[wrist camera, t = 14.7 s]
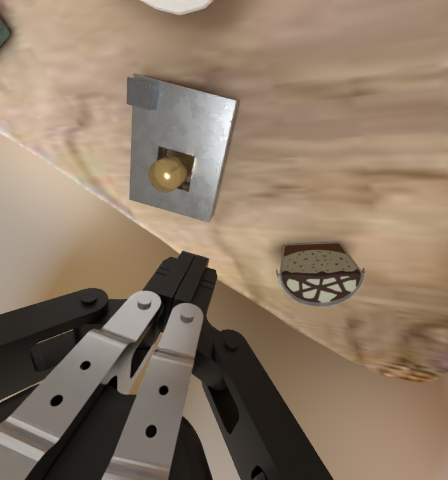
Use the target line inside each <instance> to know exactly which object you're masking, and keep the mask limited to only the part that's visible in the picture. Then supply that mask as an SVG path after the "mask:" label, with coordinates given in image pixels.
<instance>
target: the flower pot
mask: <svg viewBox="0 0 448 480" xmlns="http://www.w3.org/2000/svg"><path fill="white" fill-rule="evenodd" d="M9 35H10V32H9V30H8V28H7V27H6V26H5V24H4V23H3V21H2V20H1V19H0V46H1V45H2V44H3V43H4V41H5V40H6V39H7V38H8V37H9Z"/></svg>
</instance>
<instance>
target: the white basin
mask: <svg viewBox="0 0 448 480" xmlns="http://www.w3.org/2000/svg"><path fill="white" fill-rule="evenodd" d="M140 1H142V2H144V3H145V4H147V5H149V6H151V7H153V8H155V9H157V10H161V11H165V12H168V13H172V14H176V15H184V14H188V13H191V12H195V11H198V10H202V9H205V8H206V7H207V6H208V5H209V4H211V3H212V2H213V1H214V0H140Z"/></svg>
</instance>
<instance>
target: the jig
mask: <svg viewBox="0 0 448 480" xmlns="http://www.w3.org/2000/svg"><path fill="white" fill-rule="evenodd" d="M127 104H129V105H133V110H132V139H131V169H130V198H129V200H133V201H136V202H140V203H143V204H147V205H150V206H154V207H157V208H161V209H164V210H168V211H171V212H175V213H178V214H182V215H185V216H189V217H192V218H195V219H199V220H202V221H206V222H210V220H211V218H212V217H213V215H214V211H215V206H216V202H217V198H218V193H219V189H220V184H221V180H222V175H223V171H224V167H225V162H226V158H227V153H228V149H229V145H230V140H231V136H232V131H233V127H234V123H235V118H236V114H237V109H238V105H239V101H236V100H232V99H229V98H225V97H221V96H217V95H214V94H210V93H206V92H202V91H199V90H195V89H191V88H187V87H184V86H180V85H176V84H172V83H169V82H165V81H161V80H157V79H154V78H150V77H146V76H142V75H138V74H134V78H130V77H128V78H127ZM167 149H171V150H174V151H178V152H182V153H185V154H189V155H192V156H195V158H194V164H193V170H192V176H191V182H190V184H187V183H184V182H183V183H182V184H181V185H180V186H178V187H177V188H176V189H175V190H174V191H172V192H169V193H163V192H160V191H158V190H156V189H155V188H154V187H153V186H152V184H151V183H150V181H149V177H148V171H149V168H150V166H151V165H152V164H153V163H154V162H156V161H158V160H160V159H162V158H165V157H166V150H167Z"/></svg>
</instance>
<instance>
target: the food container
mask: <svg viewBox="0 0 448 480" xmlns="http://www.w3.org/2000/svg"><path fill="white" fill-rule="evenodd" d="M276 274H277V277H278V280H279V283H280V285H281V287H282V288H283V290H284V291H285V292H286V293H287V295H288V296H290V297H291V298H292V299H293V300H295V301H297V302H299V303H301V304H304V305H307V306H312V307H329V306H334V305H337V304H340V303H342V302H345V301H346V300H348V299H350V298H351V297H352V296H354V295H355V294H356V293H357V292H358V290H359V289H360V288H361V286H362V284H363V282H364V278H365V269H364V268H363V270H362V271H361V270H360V268H359V267H358V266H357V264H356V263H355V262H354V260H353V259H352V258H351V256H350V255H349V254H348V252H347V251H346V250H345V248H344V247H343V246H342V244H341V243H340V242H322V243H299V244H284V246H283V253H282V261H281V268H280V274H278V271H277V270H276Z"/></svg>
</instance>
